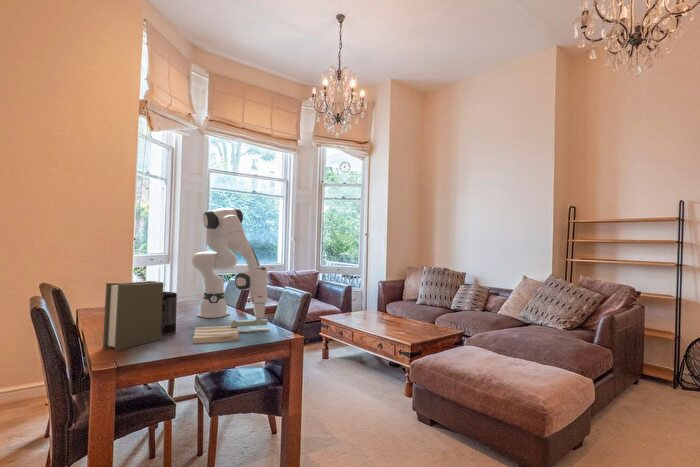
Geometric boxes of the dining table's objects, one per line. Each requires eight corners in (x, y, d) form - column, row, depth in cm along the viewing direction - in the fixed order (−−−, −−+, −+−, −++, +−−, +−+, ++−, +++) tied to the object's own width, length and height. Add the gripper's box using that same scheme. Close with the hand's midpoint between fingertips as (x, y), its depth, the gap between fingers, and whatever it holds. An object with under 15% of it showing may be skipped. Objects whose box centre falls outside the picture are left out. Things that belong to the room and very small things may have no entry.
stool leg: (231, 327, 194) (231, 321, 194) (230, 325, 196) (231, 319, 196) (266, 325, 200) (267, 319, 200) (266, 323, 202) (266, 318, 202)
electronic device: (154, 332, 190) (155, 292, 190) (165, 330, 195) (166, 291, 195) (166, 335, 185) (167, 294, 185) (177, 332, 191) (178, 292, 191)
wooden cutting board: (195, 332, 192) (195, 327, 192) (268, 328, 204) (268, 323, 204) (193, 343, 173) (193, 337, 173) (273, 338, 185) (273, 333, 185)
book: (148, 338, 182) (151, 279, 183) (161, 340, 178) (164, 281, 179) (102, 348, 163) (106, 283, 163) (116, 351, 158) (120, 284, 159)
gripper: (251, 294, 206) (250, 320, 206) (253, 300, 187) (253, 328, 187) (262, 294, 208) (262, 319, 208) (266, 300, 189) (266, 327, 188)
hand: (258, 323), depth 197 cm, fingers closed
